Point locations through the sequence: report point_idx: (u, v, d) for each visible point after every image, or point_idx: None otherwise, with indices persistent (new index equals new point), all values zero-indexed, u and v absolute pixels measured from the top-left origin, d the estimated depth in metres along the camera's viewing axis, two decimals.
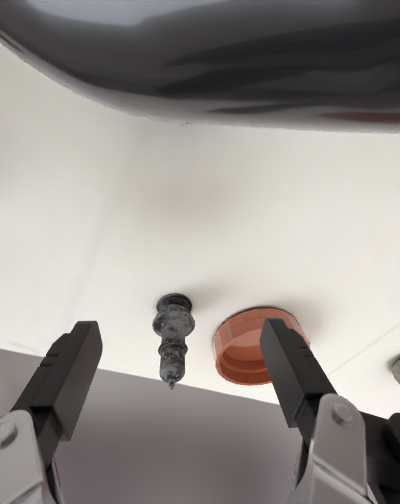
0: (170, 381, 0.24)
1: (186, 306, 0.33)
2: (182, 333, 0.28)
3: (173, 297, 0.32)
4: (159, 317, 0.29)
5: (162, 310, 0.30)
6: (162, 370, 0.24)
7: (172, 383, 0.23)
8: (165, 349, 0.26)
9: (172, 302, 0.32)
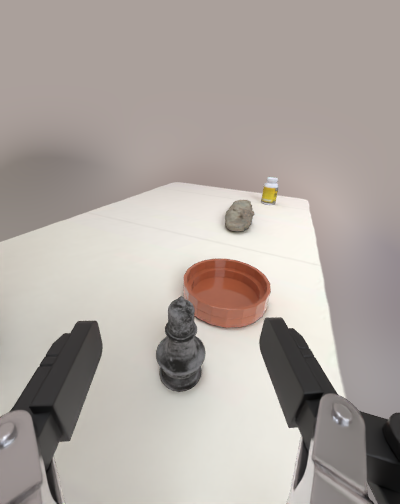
0: (179, 302, 0.22)
1: None
2: None
3: (162, 370, 0.27)
4: (164, 365, 0.24)
5: None
6: (173, 315, 0.22)
7: (179, 299, 0.23)
8: (170, 330, 0.23)
9: None
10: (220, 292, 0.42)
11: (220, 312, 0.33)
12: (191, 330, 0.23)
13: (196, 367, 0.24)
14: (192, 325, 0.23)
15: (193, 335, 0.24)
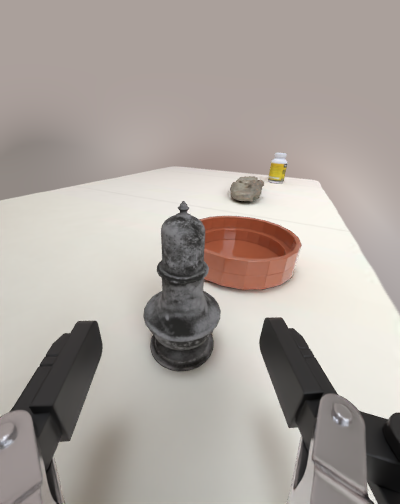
0: (180, 214, 0.13)
1: None
2: None
3: (154, 340, 0.18)
4: (156, 326, 0.15)
5: (153, 333, 0.16)
6: (169, 233, 0.13)
7: None
8: (165, 265, 0.14)
9: None
10: (232, 253, 0.32)
11: (237, 266, 0.23)
12: (200, 266, 0.14)
13: (208, 330, 0.15)
14: (201, 257, 0.14)
15: (203, 274, 0.14)
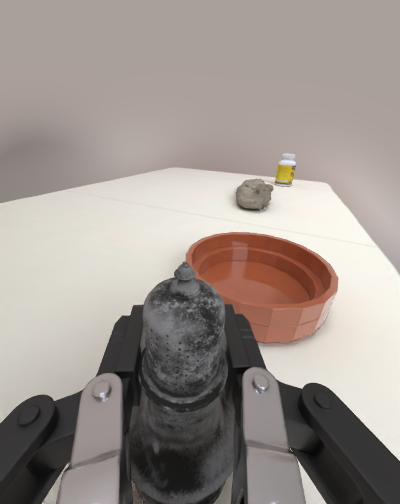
0: (179, 285, 0.07)
1: None
2: None
3: None
4: (136, 464, 0.09)
5: None
6: (156, 328, 0.06)
7: None
8: (151, 371, 0.08)
9: None
10: (244, 282, 0.26)
11: (257, 314, 0.17)
12: (215, 371, 0.08)
13: (226, 470, 0.09)
14: (218, 356, 0.08)
15: (220, 385, 0.08)
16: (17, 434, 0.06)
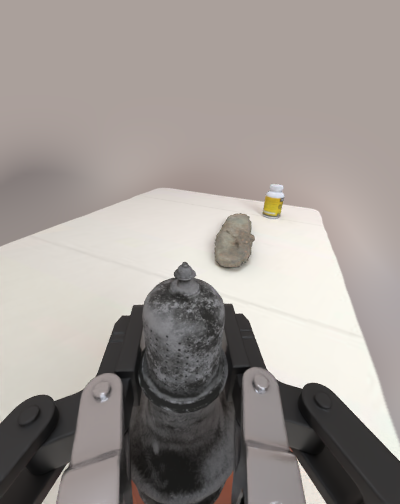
0: (179, 285, 0.07)
1: None
2: None
3: None
4: (136, 465, 0.09)
5: None
6: (156, 328, 0.06)
7: None
8: (151, 372, 0.08)
9: None
10: None
11: None
12: (214, 371, 0.08)
13: (226, 471, 0.09)
14: (218, 356, 0.08)
15: (220, 385, 0.08)
16: (16, 434, 0.06)
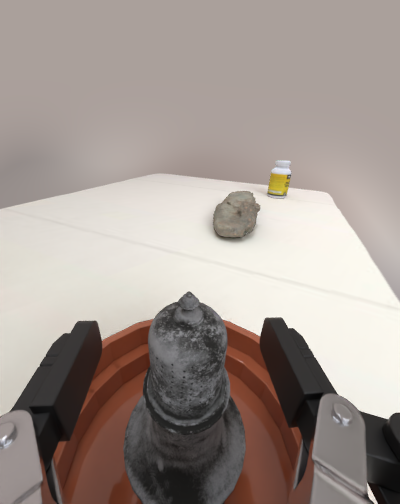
0: (183, 313, 0.07)
1: None
2: None
3: None
4: (141, 481, 0.09)
5: None
6: (162, 356, 0.07)
7: None
8: (156, 393, 0.08)
9: None
10: None
11: None
12: (217, 393, 0.08)
13: (229, 487, 0.09)
14: (220, 379, 0.08)
15: (223, 406, 0.08)
16: None
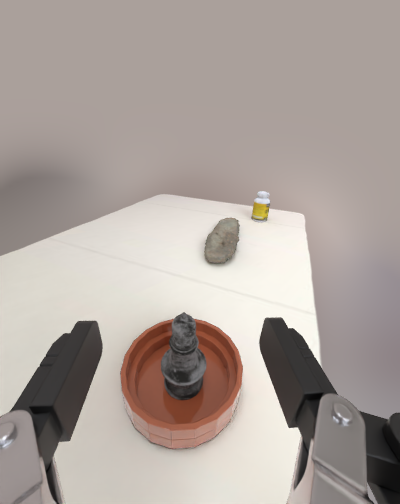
0: (182, 318, 0.24)
1: None
2: None
3: (166, 379, 0.29)
4: (168, 376, 0.26)
5: None
6: (176, 330, 0.24)
7: None
8: (174, 343, 0.25)
9: None
10: None
11: (162, 432, 0.22)
12: (193, 343, 0.25)
13: (198, 377, 0.26)
14: (194, 339, 0.25)
15: (195, 348, 0.26)
16: None
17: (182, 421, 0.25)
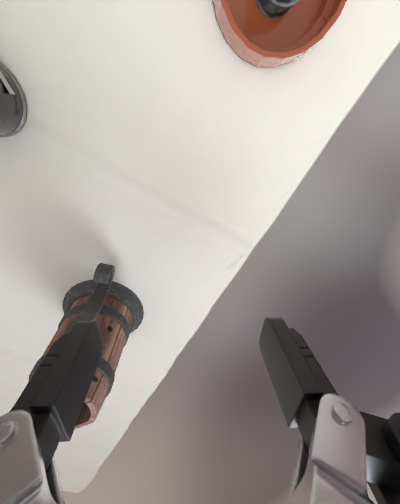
0: None
1: None
2: None
3: None
4: None
5: None
6: None
7: None
8: None
9: None
10: None
11: (255, 55, 0.27)
12: None
13: None
14: None
15: None
16: None
17: (267, 42, 0.29)
